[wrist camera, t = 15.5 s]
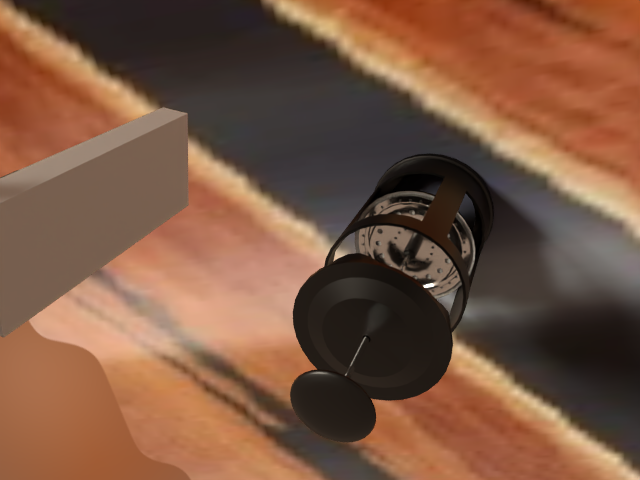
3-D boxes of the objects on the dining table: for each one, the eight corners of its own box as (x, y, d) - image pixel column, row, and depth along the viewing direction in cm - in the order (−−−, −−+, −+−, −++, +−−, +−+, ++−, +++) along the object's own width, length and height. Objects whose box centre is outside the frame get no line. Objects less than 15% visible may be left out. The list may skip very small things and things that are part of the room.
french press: (416, 121, 43) (290, 276, 24) (526, 192, 42) (486, 408, 23) (344, 235, 49) (200, 427, 30) (437, 298, 49) (350, 532, 30)
